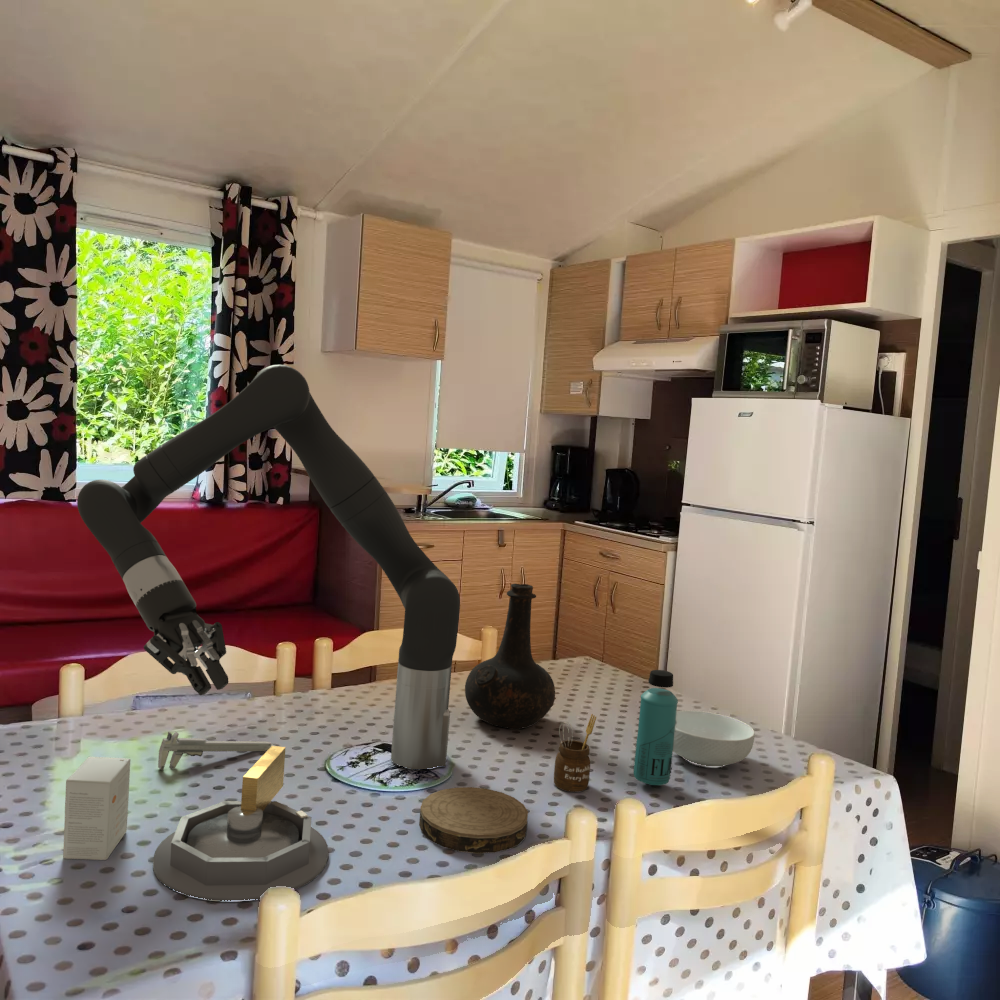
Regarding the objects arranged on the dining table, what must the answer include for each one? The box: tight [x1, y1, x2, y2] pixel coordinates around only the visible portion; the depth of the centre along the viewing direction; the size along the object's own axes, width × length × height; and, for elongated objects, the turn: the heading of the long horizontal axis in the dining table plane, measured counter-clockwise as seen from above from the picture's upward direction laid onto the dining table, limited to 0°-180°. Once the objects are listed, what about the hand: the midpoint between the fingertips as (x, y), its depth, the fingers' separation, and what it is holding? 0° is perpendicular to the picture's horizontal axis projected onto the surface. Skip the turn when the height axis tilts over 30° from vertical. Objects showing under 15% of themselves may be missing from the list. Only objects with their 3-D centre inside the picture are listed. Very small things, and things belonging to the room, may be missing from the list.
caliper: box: [157, 731, 276, 771], centre depth 148 cm, size 20×1×6 cm, turn 132°
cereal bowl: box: [673, 710, 756, 766], centre depth 167 cm, size 17×17×7 cm
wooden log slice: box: [418, 786, 529, 854], centre depth 131 cm, size 16×16×3 cm
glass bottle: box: [464, 583, 556, 730], centre depth 178 cm, size 18×18×28 cm
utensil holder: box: [553, 713, 597, 793], centre depth 149 cm, size 6×6×12 cm
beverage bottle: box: [633, 669, 679, 786], centre depth 151 cm, size 6×7×20 cm
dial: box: [187, 745, 299, 858], centre depth 119 cm, size 20×14×9 cm
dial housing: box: [152, 800, 329, 901], centre depth 117 cm, size 22×22×4 cm
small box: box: [62, 756, 131, 861], centre depth 117 cm, size 8×6×10 cm
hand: (214, 688), depth 130 cm, fingers open, 3 cm apart
